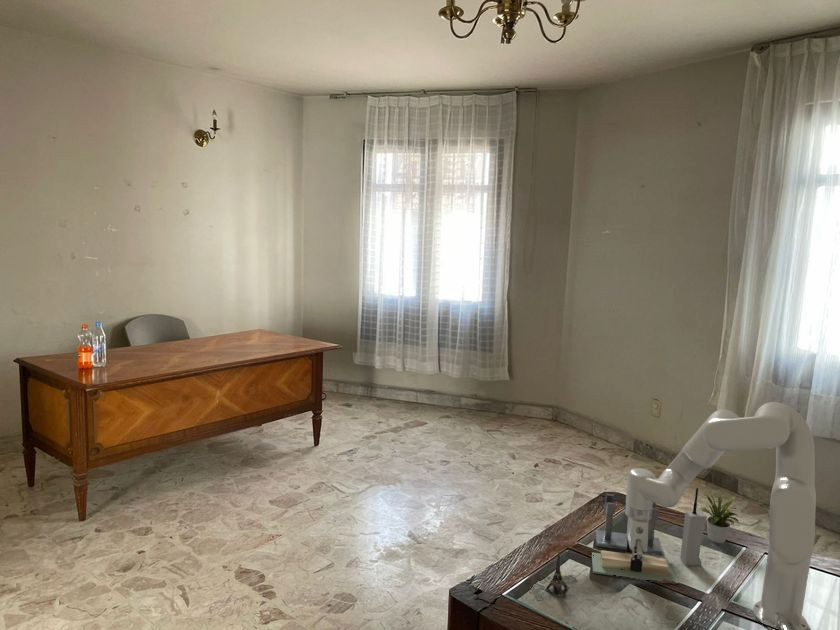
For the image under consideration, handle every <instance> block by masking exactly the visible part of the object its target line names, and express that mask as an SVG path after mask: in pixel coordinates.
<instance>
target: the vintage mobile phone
mask: <svg viewBox="0 0 840 630" xmlns="http://www.w3.org/2000/svg"><path fill="white" fill-rule="evenodd" d="M698 494H699V488H697V487H696V488H695V494H694V496H695V497H694V502H693V509H692V510H690V509H689V510H688V509H687V510H685V512H684V522H683V530H682V531H683V532H682V540H681V548H680V549H681V550H680V560H681V561H682V563H683V564H684V565H685V566H692V567H693V566H694V567H695V566H696V567H700V566H702V561H701V558H700V553H701V543H702V537H703V534H704V532H705V527H706V525H707V518H708V516H707V515H706V514H705V512H702V510H697V507H698V496H699V495H698Z"/></svg>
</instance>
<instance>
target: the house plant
mask: <svg viewBox="0 0 840 630" xmlns="http://www.w3.org/2000/svg"><path fill="white" fill-rule="evenodd" d="M693 494H694V495H695V494H696V492H695V493H693ZM704 495H705V498H707V499H705V500H706V502H708V501H709V502H708V503H709V504H710V505H709V504H708V505H706V506H705V507H701V508H700V509H699V511H702V512H703V513H707V514H709V516H707V520H706V529H707V538H708V540H709V541H710V542H713V543H715V544H725V542H726V540H727V537H728V533H729V530H730V527H731V524H733V525H735V521H736V523H738V524H739V523H740V521H739V520H738V519H737V517H739V518H740V519H742V517H741V516H739V514H737V513H735V512H733V510H734V509H735V508H737V507H740V505H735V506H732V507H730V506H731V505H732V504H733V502H734V500H735V499H736V498H737V495H735V496H732V497H731V498H729V499H727V501H725V502H724V503H723V504H722V501H723V497H724V492H723V493H722V494H720V493H718V498H717V503H718V505H717V503H716V502H715V499H714V497H713V495H712V494H710V493H708V492H707V493H704ZM709 495H710V496H709ZM698 496H701V497H703V498H704V496H703V495H701V494H699V493H698ZM711 498H712V499H711ZM707 500H708V501H707ZM707 506H708V507H709V509H710V510H709V509H707V508H706V507H707ZM729 507H730V508H729ZM710 511H711V512H710ZM733 516H737V517H733Z"/></svg>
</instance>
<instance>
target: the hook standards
mask: <svg viewBox="0 0 840 630" xmlns="http://www.w3.org/2000/svg"><path fill="white" fill-rule="evenodd" d="M614 495H615V494H612V493H606V494H605V510H606V511H605V521H604V530H601V529H595V539H596V540H595V541H596V546H597V547H600V548H608V549H615V550H623V551H626V550H627V540H628V537H627V533H623V532H615V531H613V523H614V522H613V519H614V515H615V514H616V502H614V501H615V500H614V499H615V496H614ZM656 505H657V504H656V503H654V502H653V508H652V517H651V519H650V520H648V545H647V552H643V550H642V554H652V555H658V556H663V553H664V552H663V549H662V545H661V541H660V539H659V537H655V528H656V520H659V512H660V510H659V508H657V507H656Z"/></svg>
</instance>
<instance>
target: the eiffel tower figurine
mask: <svg viewBox="0 0 840 630" xmlns="http://www.w3.org/2000/svg"><path fill="white" fill-rule="evenodd" d="M560 556H561V552H560V550H558V552H557V558H556V559H557V560H556V566H555V571H554V575H553V576H545V577H546V578H545V579H543V580H541V581H538V582H537V583H536V584H534V585H533V587H532V588H531V587H530V589H531V591H532V592H533V594H534V596H535V598H536V600H537V601H544V598H543V596H544V593H545V592H546V593H550V594H552V595H554V596H556V597H559V598H561V599H563V598H564V596H565V594H566V593H568V591H569V589H571V588H570V587H569V586H573V585H576V583H578V582H579V581H578V579H577V578H576V577H575V575H574V574H570V575H568V574H567V575H568V576H567V575H562V572H561V557H560Z"/></svg>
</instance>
